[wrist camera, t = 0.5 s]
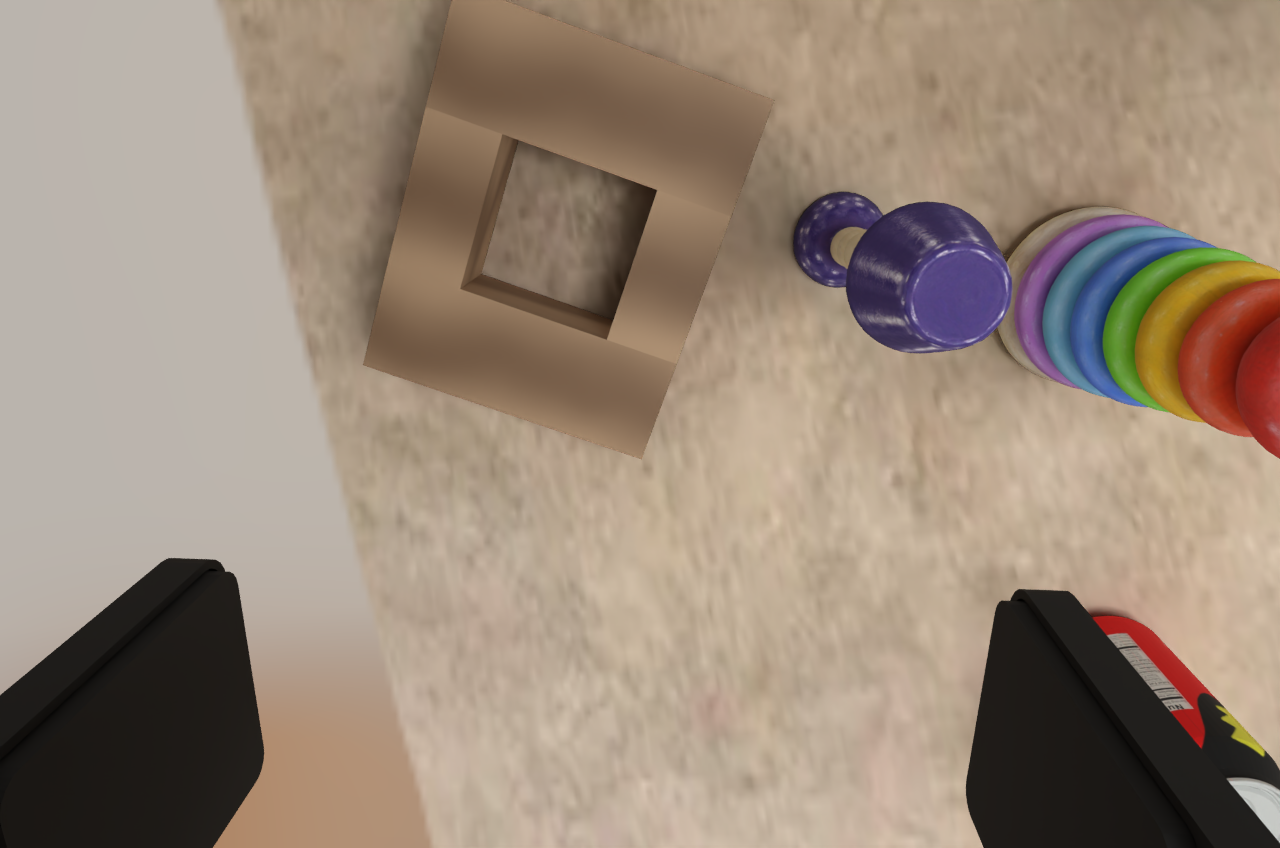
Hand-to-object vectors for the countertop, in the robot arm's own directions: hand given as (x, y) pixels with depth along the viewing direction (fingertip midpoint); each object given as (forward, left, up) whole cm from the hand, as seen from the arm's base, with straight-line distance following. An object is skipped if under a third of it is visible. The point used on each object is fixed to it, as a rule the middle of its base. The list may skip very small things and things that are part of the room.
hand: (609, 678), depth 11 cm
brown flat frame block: (0, -5, -31) cm, 31 cm away
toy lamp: (-4, +7, -31) cm, 32 cm away
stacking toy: (-5, +18, -31) cm, 37 cm away
